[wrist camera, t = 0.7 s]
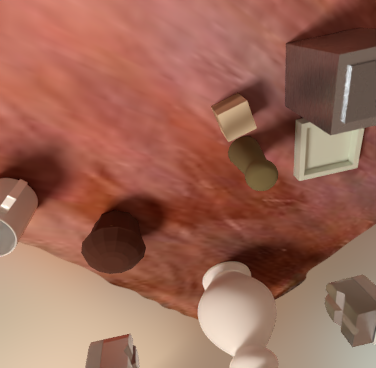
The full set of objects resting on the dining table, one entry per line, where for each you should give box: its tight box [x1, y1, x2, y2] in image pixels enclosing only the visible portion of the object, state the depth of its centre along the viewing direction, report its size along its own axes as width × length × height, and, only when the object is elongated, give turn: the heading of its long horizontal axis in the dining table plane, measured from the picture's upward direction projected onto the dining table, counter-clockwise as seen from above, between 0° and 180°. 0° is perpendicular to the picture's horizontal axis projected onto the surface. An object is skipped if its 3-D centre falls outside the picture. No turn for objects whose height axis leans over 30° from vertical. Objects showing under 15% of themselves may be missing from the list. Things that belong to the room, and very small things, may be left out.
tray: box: [294, 118, 364, 181], centre depth 53 cm, size 12×12×2 cm
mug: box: [0, 178, 38, 257], centre depth 45 cm, size 12×9×11 cm
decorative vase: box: [198, 261, 278, 368], centre depth 60 cm, size 18×18×25 cm
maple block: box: [211, 93, 256, 142], centre depth 46 cm, size 5×5×5 cm
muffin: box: [81, 210, 146, 274], centre depth 53 cm, size 12×11×10 cm
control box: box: [285, 28, 376, 135], centre depth 40 cm, size 10×12×14 cm
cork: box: [228, 136, 278, 191], centre depth 48 cm, size 6×6×11 cm
